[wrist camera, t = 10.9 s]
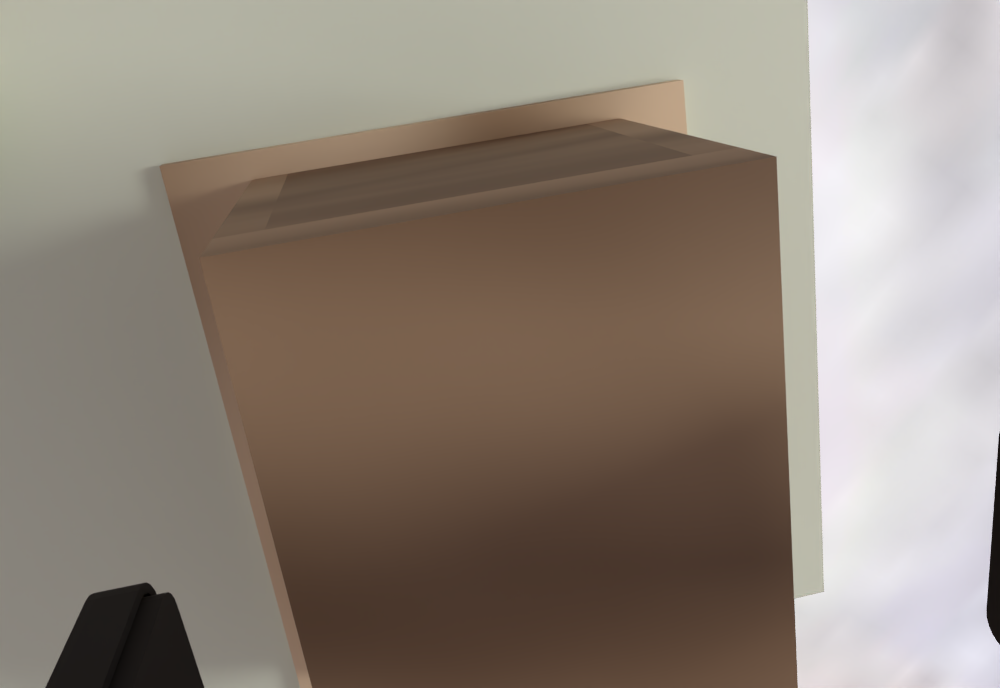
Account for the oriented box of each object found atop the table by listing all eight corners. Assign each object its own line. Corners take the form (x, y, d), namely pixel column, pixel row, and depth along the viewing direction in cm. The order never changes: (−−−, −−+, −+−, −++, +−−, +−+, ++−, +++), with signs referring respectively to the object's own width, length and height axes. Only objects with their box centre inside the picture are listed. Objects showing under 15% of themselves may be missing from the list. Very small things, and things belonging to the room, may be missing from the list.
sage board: (754, -566, 14) (789, -619, 13) (797, 562, 21) (823, 591, 20) (-1195, -409, 11) (-1364, -459, 10) (-399, 839, 18) (-448, 891, 17)
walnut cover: (252, 180, 15) (199, 257, 9) (619, 118, 16) (776, 156, 10) (366, 666, 18) (379, 940, 13) (666, 597, 19) (803, 827, 13)
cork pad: (677, 79, 16) (683, 80, 16) (716, 597, 20) (721, 605, 19) (162, 163, 15) (159, 166, 15) (304, 693, 19) (304, 703, 18)
